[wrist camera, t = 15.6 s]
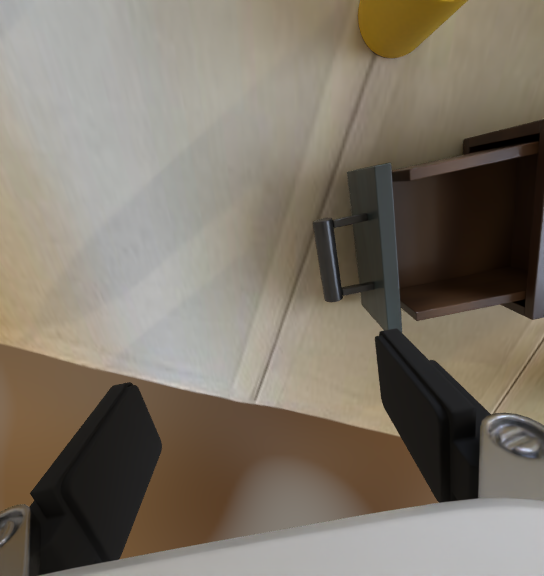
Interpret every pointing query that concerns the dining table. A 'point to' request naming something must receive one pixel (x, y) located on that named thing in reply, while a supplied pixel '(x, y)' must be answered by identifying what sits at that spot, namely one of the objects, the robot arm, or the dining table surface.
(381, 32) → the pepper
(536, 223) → the cabinet
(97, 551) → the robot arm
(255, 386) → the dining table surface
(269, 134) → the dining table surface
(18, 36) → the dining table surface
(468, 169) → the drawer
